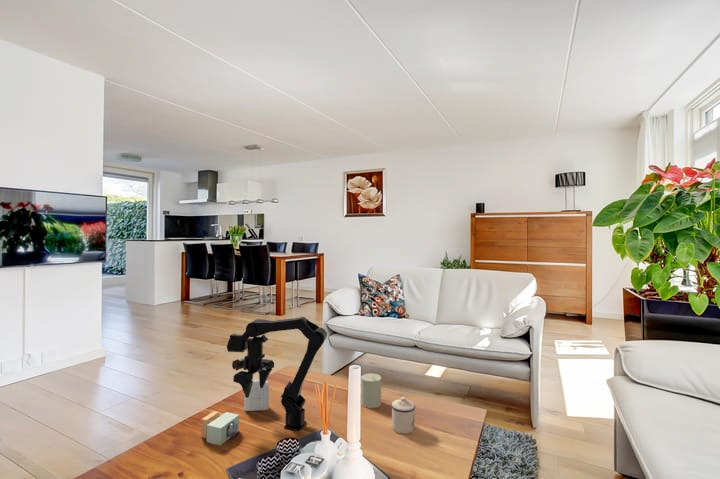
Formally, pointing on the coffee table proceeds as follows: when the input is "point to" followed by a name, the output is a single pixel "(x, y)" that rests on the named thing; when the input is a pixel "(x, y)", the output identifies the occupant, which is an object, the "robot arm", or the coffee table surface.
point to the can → (371, 390)
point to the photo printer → (257, 397)
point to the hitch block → (221, 428)
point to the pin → (231, 429)
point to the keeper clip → (206, 421)
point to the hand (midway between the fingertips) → (254, 392)
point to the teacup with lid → (403, 415)
